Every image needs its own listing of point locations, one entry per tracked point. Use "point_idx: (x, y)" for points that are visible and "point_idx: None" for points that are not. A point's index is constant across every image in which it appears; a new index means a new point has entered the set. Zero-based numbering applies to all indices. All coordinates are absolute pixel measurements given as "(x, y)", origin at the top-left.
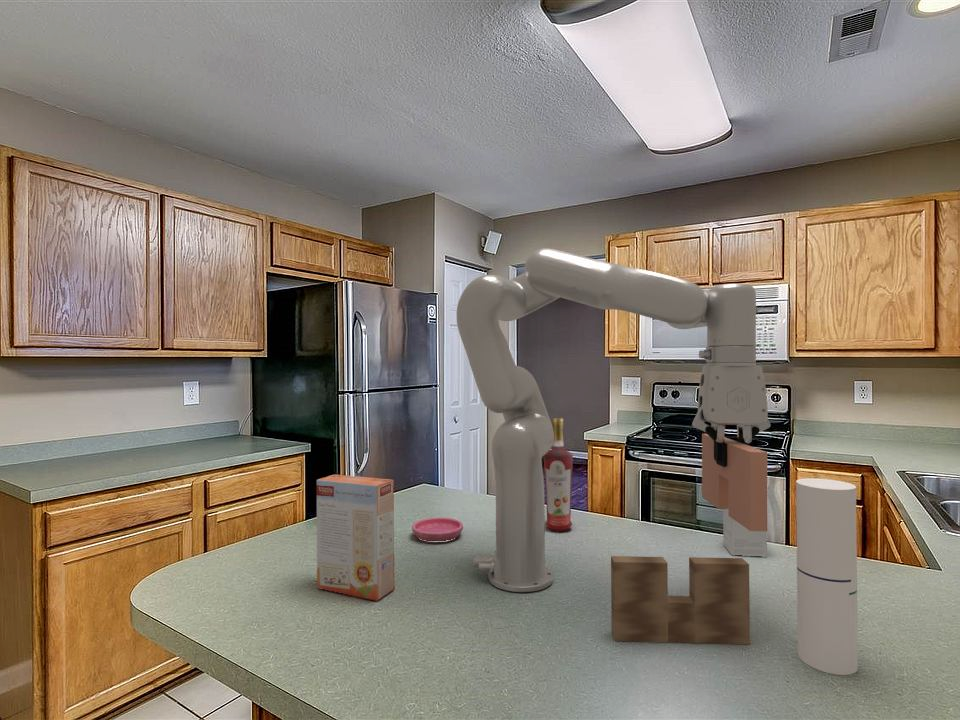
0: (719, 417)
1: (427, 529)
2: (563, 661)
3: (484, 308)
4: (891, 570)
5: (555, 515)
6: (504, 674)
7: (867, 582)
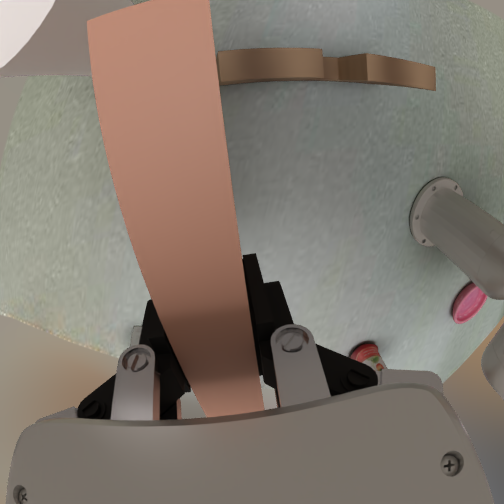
0: (380, 433)
1: (471, 305)
2: (419, 37)
3: None
4: (26, 309)
5: (376, 355)
6: (454, 30)
7: (43, 277)
